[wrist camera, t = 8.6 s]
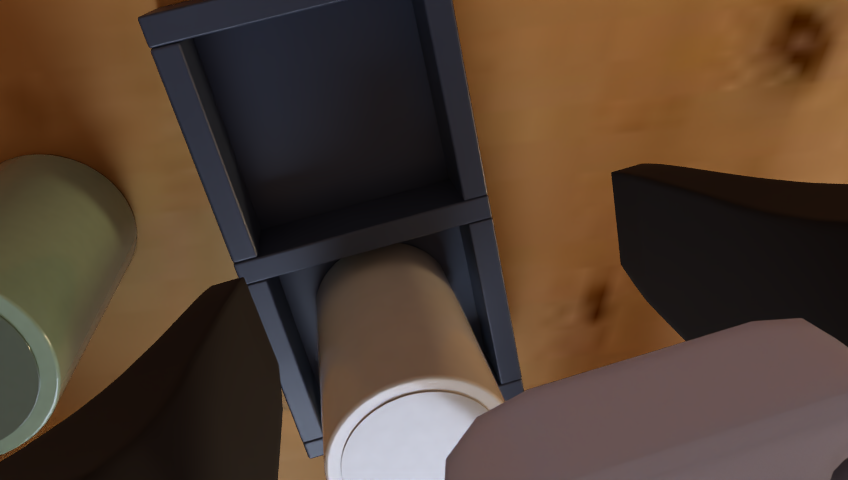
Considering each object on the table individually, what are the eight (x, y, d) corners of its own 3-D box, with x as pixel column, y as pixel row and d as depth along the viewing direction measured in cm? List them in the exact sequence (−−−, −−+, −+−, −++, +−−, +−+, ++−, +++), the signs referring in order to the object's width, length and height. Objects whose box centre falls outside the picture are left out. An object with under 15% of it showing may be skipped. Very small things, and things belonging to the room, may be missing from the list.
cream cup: (462, 340, 25) (531, 500, 18) (336, 377, 25) (353, 554, 18) (436, 225, 23) (502, 353, 16) (297, 263, 23) (298, 412, 15)
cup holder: (504, 354, 26) (525, 395, 24) (307, 411, 26) (309, 460, 23) (424, -57, 20) (442, -57, 17) (156, 8, 19) (136, 17, 17)
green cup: (160, 274, 22) (97, 430, 15) (13, 314, 22) (-124, 493, 15) (99, 135, 20) (-9, 241, 13) (-66, 177, 20) (-271, 309, 13)
